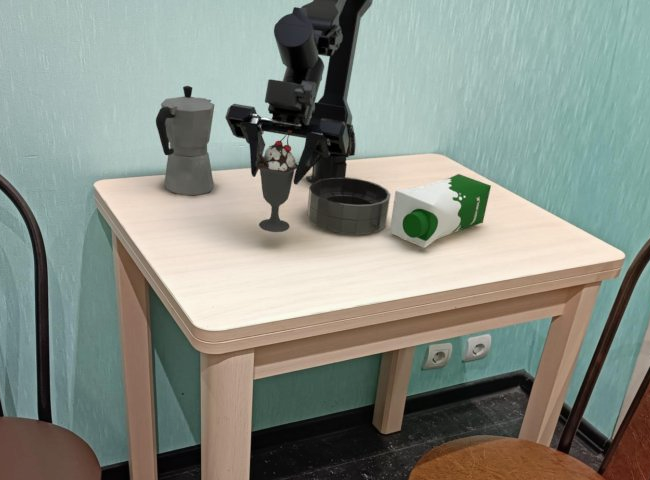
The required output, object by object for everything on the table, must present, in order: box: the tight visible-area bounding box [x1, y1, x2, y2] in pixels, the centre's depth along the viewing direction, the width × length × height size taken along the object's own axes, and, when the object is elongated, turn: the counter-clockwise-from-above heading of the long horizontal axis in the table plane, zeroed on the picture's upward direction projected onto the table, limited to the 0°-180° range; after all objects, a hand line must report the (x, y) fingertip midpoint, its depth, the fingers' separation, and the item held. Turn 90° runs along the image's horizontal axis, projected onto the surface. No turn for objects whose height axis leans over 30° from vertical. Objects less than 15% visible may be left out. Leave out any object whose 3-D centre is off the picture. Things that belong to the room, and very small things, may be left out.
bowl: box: [306, 176, 391, 235], centre depth 133 cm, size 14×14×6 cm
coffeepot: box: [155, 85, 215, 196], centre depth 136 cm, size 15×9×18 cm, turn 153°
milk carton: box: [389, 173, 492, 249], centre depth 131 cm, size 9×9×20 cm
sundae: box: [256, 130, 298, 233], centre depth 117 cm, size 7×7×15 cm
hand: (273, 179), depth 116 cm, fingers closed on sundae, 6 cm apart
